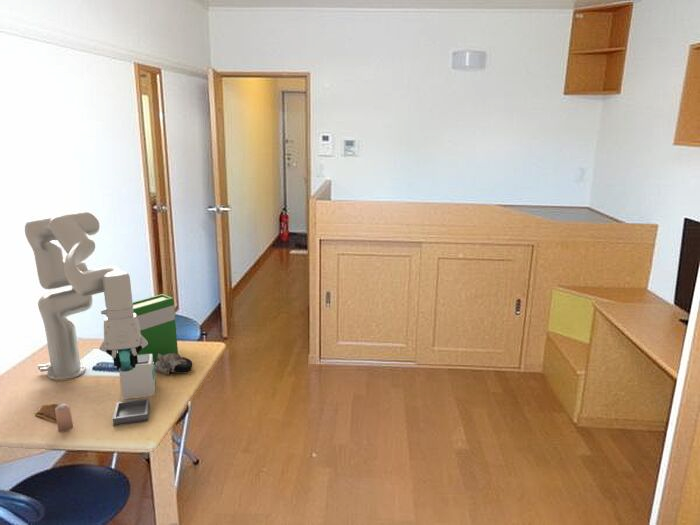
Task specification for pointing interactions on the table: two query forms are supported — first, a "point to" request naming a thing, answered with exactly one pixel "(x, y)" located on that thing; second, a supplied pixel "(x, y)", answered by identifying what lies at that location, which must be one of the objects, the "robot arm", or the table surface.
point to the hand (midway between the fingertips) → (126, 366)
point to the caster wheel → (172, 364)
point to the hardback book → (157, 325)
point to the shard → (48, 412)
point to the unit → (139, 378)
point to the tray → (131, 412)
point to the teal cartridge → (125, 359)
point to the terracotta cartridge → (63, 417)
